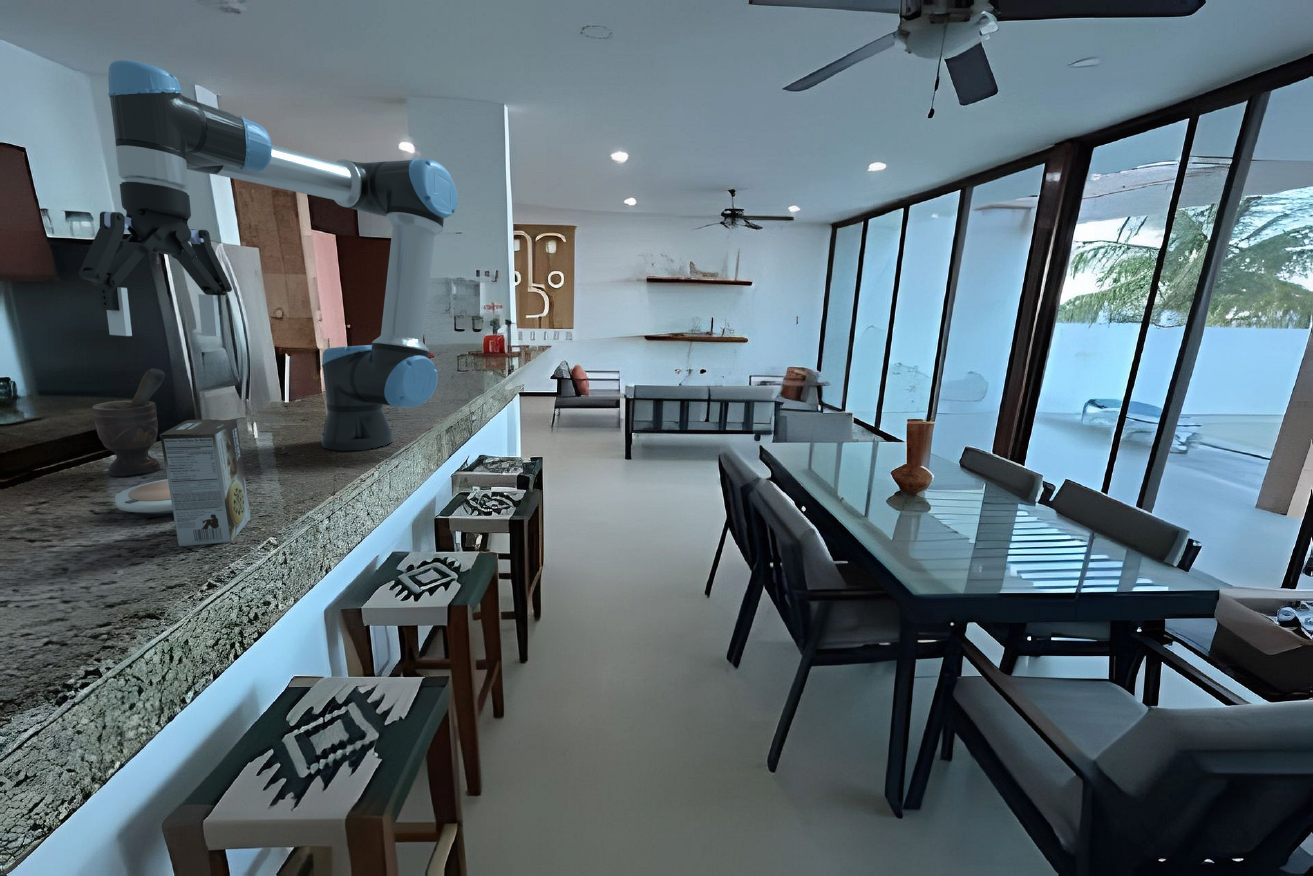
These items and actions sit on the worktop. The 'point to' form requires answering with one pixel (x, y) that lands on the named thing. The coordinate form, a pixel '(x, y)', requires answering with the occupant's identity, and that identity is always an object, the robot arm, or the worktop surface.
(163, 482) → the turntable platter
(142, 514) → the turntable base
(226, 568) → the worktop surface
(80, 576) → the worktop surface
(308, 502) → the worktop surface
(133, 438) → the mortar and pestle
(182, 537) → the coffee box
